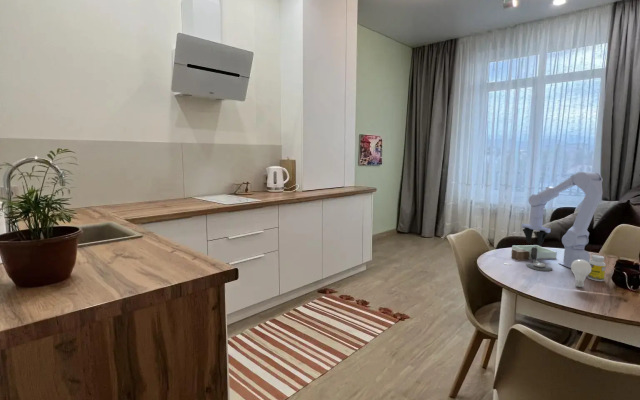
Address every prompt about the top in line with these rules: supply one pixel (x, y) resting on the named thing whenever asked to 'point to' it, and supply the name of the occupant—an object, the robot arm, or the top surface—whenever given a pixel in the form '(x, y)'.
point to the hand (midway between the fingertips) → (534, 243)
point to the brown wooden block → (520, 254)
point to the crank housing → (536, 267)
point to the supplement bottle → (597, 268)
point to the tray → (538, 251)
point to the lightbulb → (580, 271)
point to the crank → (534, 259)
